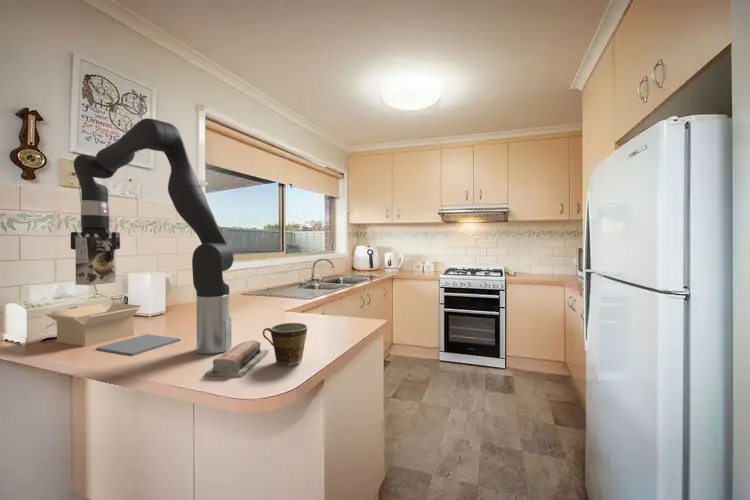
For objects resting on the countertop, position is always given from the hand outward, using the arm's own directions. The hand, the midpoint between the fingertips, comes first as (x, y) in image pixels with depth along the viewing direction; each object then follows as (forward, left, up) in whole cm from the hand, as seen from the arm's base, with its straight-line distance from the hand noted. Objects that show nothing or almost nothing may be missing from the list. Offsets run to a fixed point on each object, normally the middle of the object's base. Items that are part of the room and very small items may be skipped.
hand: (96, 262), depth 114 cm
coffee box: (0, 0, -8) cm, 8 cm away
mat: (-19, +10, -26) cm, 34 cm away
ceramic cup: (-67, +33, -27) cm, 79 cm away
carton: (0, 0, -26) cm, 26 cm away
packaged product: (-55, +32, -27) cm, 69 cm away
